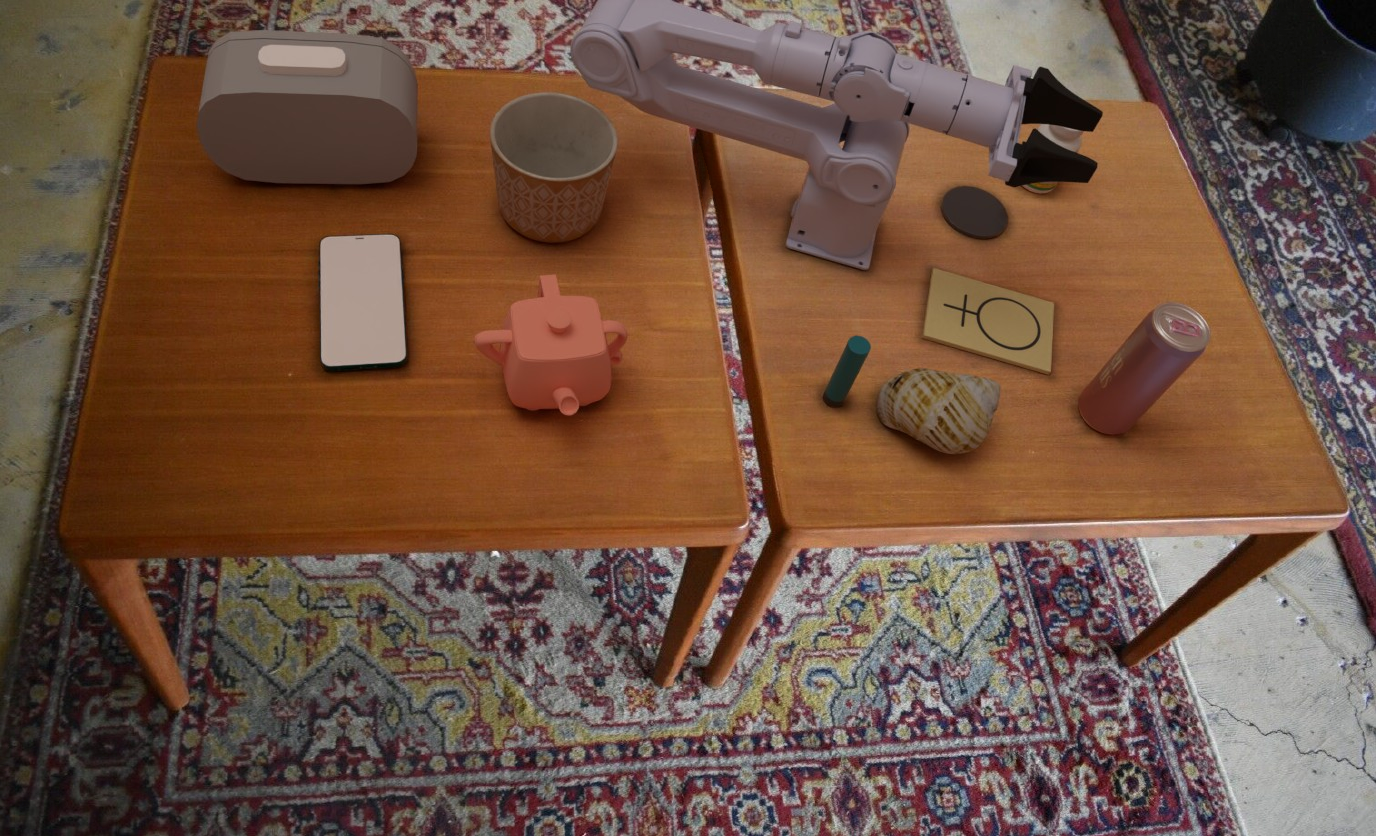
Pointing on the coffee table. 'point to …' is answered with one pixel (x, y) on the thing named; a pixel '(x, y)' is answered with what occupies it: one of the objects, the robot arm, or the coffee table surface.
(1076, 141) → the supplement bottle
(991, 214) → the coaster
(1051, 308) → the sign with female symbol
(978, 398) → the seashell
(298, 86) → the alarm clock
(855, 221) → the robot arm
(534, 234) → the planter
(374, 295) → the smartphone
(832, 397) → the dark green cylinder
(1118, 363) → the beverage can
